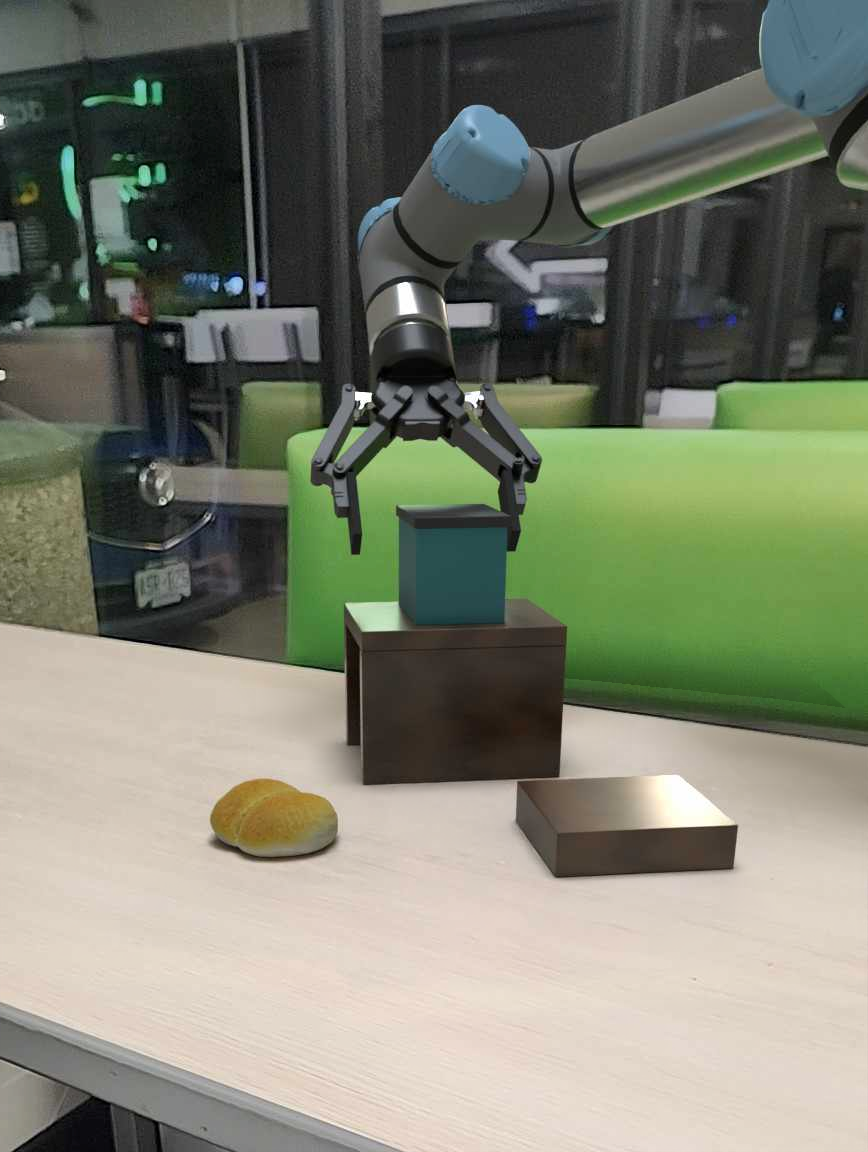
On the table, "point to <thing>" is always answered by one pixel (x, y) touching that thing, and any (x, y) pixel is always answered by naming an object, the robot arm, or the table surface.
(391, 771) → the top shelf
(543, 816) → the bottom shelf
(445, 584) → the box
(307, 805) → the bread roll
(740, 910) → the table surface
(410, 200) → the robot arm
